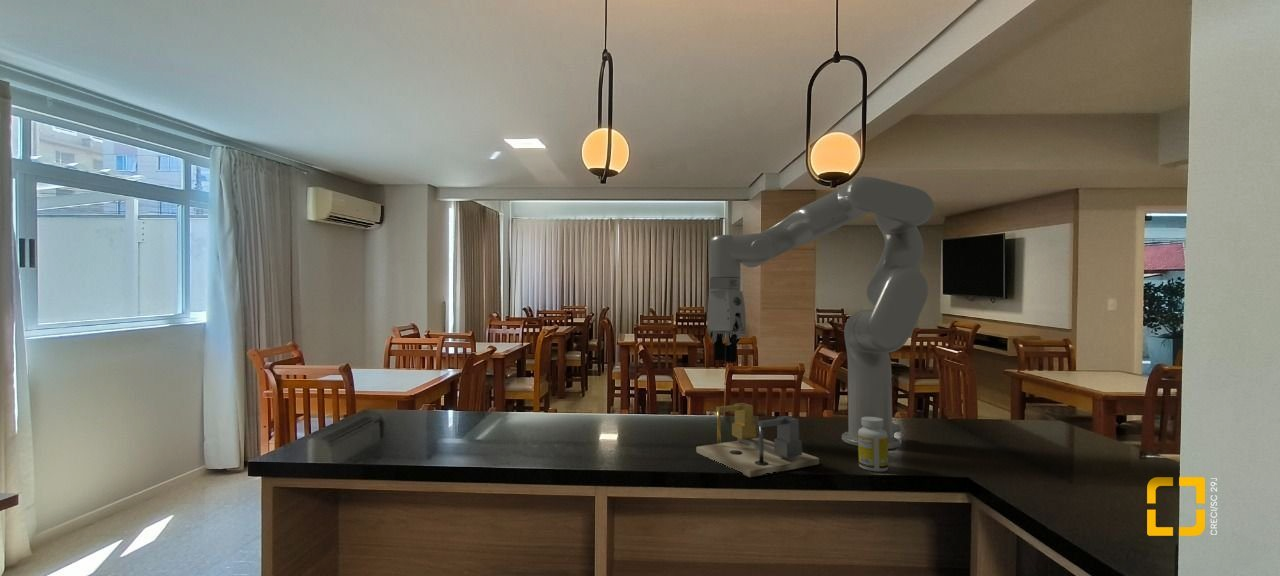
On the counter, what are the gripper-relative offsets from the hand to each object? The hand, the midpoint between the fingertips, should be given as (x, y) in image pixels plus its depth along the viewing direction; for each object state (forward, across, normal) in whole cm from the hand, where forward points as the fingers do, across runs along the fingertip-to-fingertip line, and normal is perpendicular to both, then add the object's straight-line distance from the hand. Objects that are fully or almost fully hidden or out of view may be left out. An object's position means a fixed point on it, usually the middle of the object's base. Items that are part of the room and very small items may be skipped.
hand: (725, 360), depth 119 cm
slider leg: (+17, -7, +3) cm, 19 cm away
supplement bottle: (+19, -30, -14) cm, 38 cm away
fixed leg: (+18, -21, +3) cm, 28 cm away
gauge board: (+19, -14, +3) cm, 24 cm away
